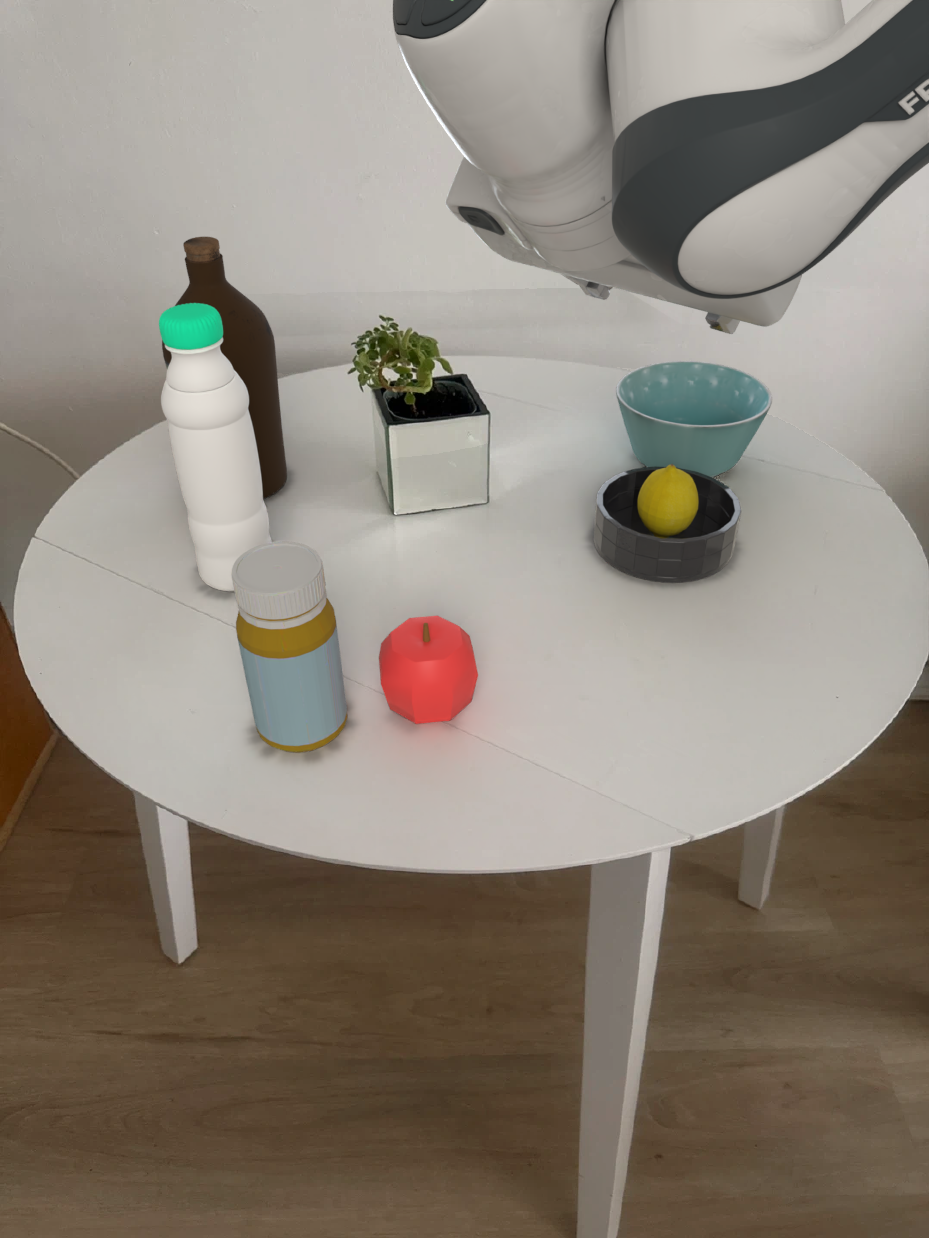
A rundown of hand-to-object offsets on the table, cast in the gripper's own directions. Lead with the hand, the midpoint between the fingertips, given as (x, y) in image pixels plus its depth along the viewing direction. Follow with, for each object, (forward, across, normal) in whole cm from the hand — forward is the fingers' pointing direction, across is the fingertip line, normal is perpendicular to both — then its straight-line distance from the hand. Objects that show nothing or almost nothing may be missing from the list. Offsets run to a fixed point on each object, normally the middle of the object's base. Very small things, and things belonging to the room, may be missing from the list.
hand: (663, 304), depth 65 cm
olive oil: (+19, +46, +22) cm, 55 cm away
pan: (+32, +5, +10) cm, 34 cm away
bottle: (+4, +14, +37) cm, 40 cm away
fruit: (+31, +5, +10) cm, 33 cm away
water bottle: (+12, +34, +30) cm, 47 cm away
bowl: (+42, +12, 0) cm, 44 cm away
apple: (+10, +8, +32) cm, 34 cm away
